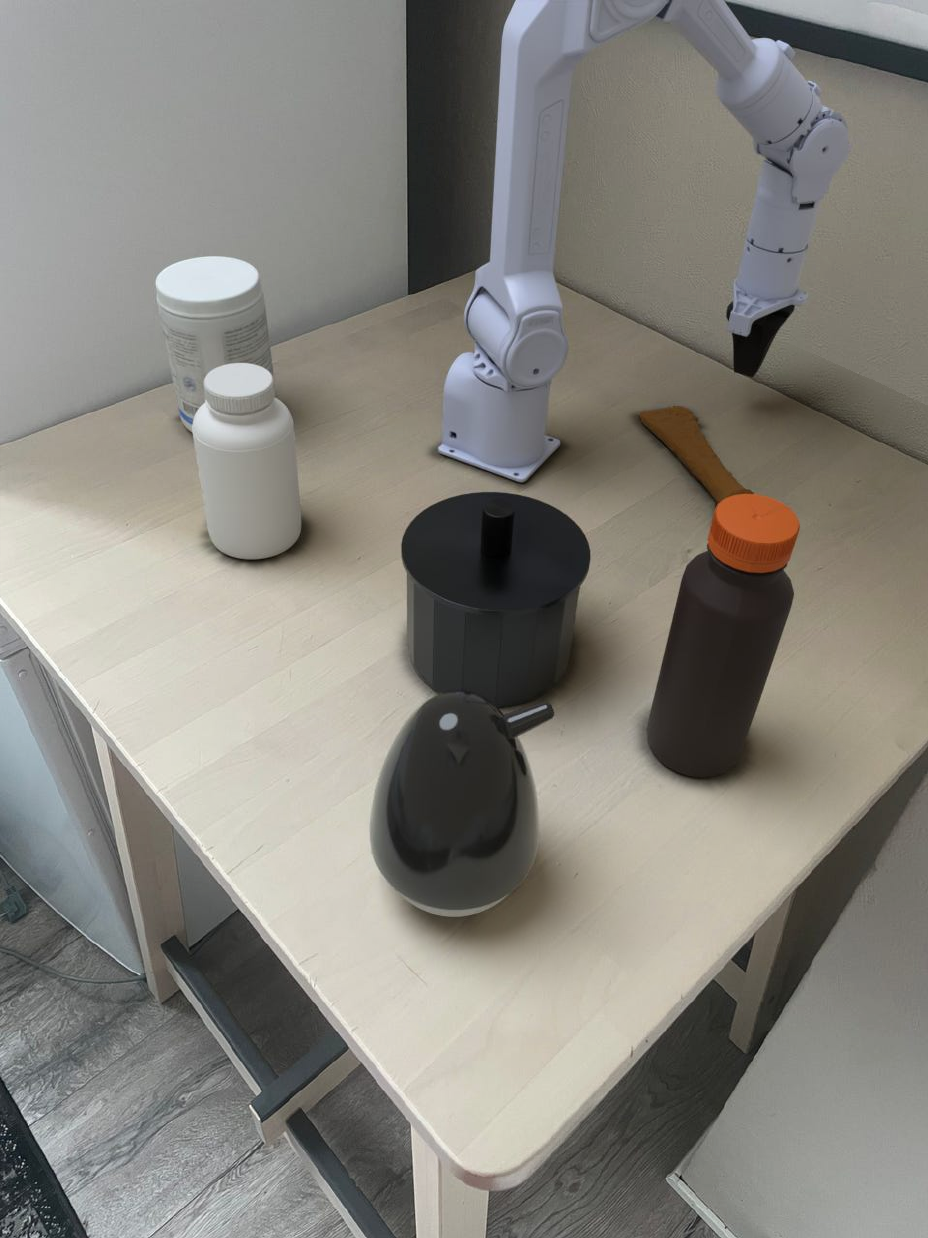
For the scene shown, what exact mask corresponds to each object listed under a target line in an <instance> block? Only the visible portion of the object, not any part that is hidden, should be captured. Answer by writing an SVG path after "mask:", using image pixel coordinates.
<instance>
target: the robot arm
mask: <svg viewBox="0 0 928 1238" xmlns="http://www.w3.org/2000/svg"><path fill="white" fill-rule="evenodd" d="M654 18H655V19H657V20H659V21H660V22H663V23H669V24H670V25H671V26H672V27H673V28H674V29H675V30H676V32H678V33H679V35H681V36H682V38H684V39H685V40H686V41H687V43H689V44H690V46H692V48H694V50H695V51H697V53H698V54H699V55H700V56H701V57H702V58H703V59H704V60H705V61H706V62H707V63H708V64H709V65H710V66H711V67H712V68H713V69H714V70H715V71H716V73H717V77H716V82H715V83H716V84H715V93H716V96H717V99H718V100H719V102H720V103H721V104H722V105H723V106H724V107H725V109H727V111H728V112H729V113H730V114H731V115H732V116H733V117H734V118H735V120H736V121H737V122H738V123H739V124H740V125H741V126H742V128H743V129H744V130H745V131H746V132H747V133H748V134H749V135H750V136H751V138H752V144H753V148H754V152H755V154H757V155H760V156H762V157H763V159H762V165H761V169H760V173H759V179H758V183H757V188H756V192H755V197H754V202H753V205H752V210H751V215H750V219H749V223H748V228H747V232H746V237H745V241H744V246H743V250H742V254H741V258H740V263H739V267H738V273H737V277H736V278H735V279H734V281H733V286H732V301H730V303H729V304H728V306H726V312H725V316H726V320H727V322H728V323H727V328H726V332H729V333H731V337H732V351H733V352H732V361H733V363H732V365H733V372H734V373H735V374H739V375H742V376H744V377H745V376H746V377H749V378H754V377H755V375H756V374H757V373H758V372H759V370H760V368H761V366H762V364H763V363H764V361H765V359H766V356H767V354H768V352H769V350H770V347H771V346H772V343H773V341H774V339H775V337H776V336H777V334H778V332H779V331H780V329H781V328H782V326H783V325H784V324H785V323H786V322H787V321H788V319H789V318H790V317H791V315H792V314H793V313H794V312H795V308H796V306H797V307H802V306H804V305H805V304H806V303H807V302H808V300H809V299H808V298H809V295H810V293H809V292H808V291H805V290H802V289H800V288H799V283H800V280H801V276H802V272H803V269H804V264H805V261H806V257H807V253H808V250H809V247H810V242H811V238H812V236H813V231H814V227H815V224H816V220H817V216H818V212H819V208H820V206H821V205H820V204H821V201H822V200H823V199H824V198H825V195H826V194H828V193H829V192H828V191H829V189H830V185H831V182H832V180H833V177H834V176H835V175H836V173H837V172H838V171H839V169H841V167H842V166H843V165H844V164H845V162H846V161H847V158H848V157H849V154H850V152H851V149H852V143H849V132H848V124H847V122H846V119H845V118H844V116H843V115H842V114H841V113H839V112H837V111H836V110H833V109H831V108H830V107H828V106H825V105H823V104H822V101H821V99H820V97H819V96H820V95H821V94H822V89H821V88H820V87H819V86H818V84H817V83H815V82H813V81H812V80H806V79H805V77H804V76H803V75H802V73H800V71H799V70H798V68H797V67H796V66H795V64H794V63H793V62H792V59H793V58H794V57H796V52H795V51H794V49H793V48H792V46H791V45H790V44H789V43H786V42H785V41H782V40H781V39H778V40H776V41H775V40H774V39H771V38H768V37H760V38H759V37H758V38H754V39H753V38H751V37H750V35H749V34H748V32H747V31H746V30H745V28H744V27H743V25H742V24H741V23H740V21H739V19H738V18H737V17H736V16H735V14H734V12H733V11H732V10H731V8H730V6H728V4H727V3H726V1H725V0H515V1H514V3H513V5H512V8H511V9H510V12H509V13H508V15H507V18H506V20H505V22H504V25H503V31H502V36H501V51H500V66H499V86H498V102H497V103H498V104H497V123H496V141H495V159H494V176H493V177H494V178H493V198H492V213H491V215H492V217H491V233H490V236H491V237H490V250H489V251H490V253H489V262H487V263H485V264H483V265H481V266H480V267H478V268H477V269H476V270H475V277H474V286H473V289H472V293H471V295H470V296H469V298H468V299H467V302H466V305H465V307H464V312H463V323H464V327H465V330H466V332H467V334H468V336H470V337H471V339H472V340H473V341H475V342H474V352H471V351H466V352H465V351H464V352H463V353H461V354H460V355H458V356H457V357H456V359H455V360H454V361H453V362H452V364H451V366H450V368H449V370H448V372H447V375H446V378H445V382H444V386H443V392H442V393H443V396H442V435H441V436H442V438H441V444H440V445H439V446H438V447H437V452H438V453H439V454H441V455H443V456H446V457H449V458H451V459H454V460H457V461H460V462H463V463H466V464H468V465H471V466H474V467H477V468H479V469H482V470H485V471H488V472H490V473H493V474H496V475H498V476H502V477H504V478H506V479H510V480H512V481H515V482H518V483H524V482H526V481H528V479H529V478H530V477H531V476H532V475H533V474H534V473H535V472H536V471H537V470H538V469H539V468H540V467H541V466H542V465H543V464H544V463H545V461H546V460H547V459H548V458H550V456H552V454H554V452H555V451H557V449H558V448H559V447H560V446H561V440H559V439H558V438H554V437H552V436H549V435H546V431H547V423H548V422H547V421H548V411H549V403H550V393H551V385H552V379H554V378H555V377H556V376H557V375H558V374H559V372H560V371H561V370H562V368H563V367H564V365H565V363H566V361H567V358H568V354H569V340H568V336H567V334H566V332H565V330H564V326H563V311H564V307H563V306H564V305H563V302H562V298H561V295H560V292H559V288H558V285H557V282H556V279H555V274H554V266H555V265H554V264H555V255H556V244H557V235H558V226H559V225H558V222H559V213H560V203H561V192H562V183H563V175H564V174H563V173H564V163H565V152H566V142H567V133H568V132H567V130H568V120H569V111H570V102H571V90H572V80H573V72H574V69H575V68H576V66H577V65H578V64H579V63H581V62H582V60H584V59H585V58H586V57H587V56H588V55H589V54H591V52H593V51H594V50H595V49H597V48H599V47H601V46H603V45H605V44H607V43H609V42H611V41H613V40H616V39H617V38H620V36H623V35H624V34H627V33H629V32H630V31H632V30H634V29H636V28H638V27H640V26H643V25H644V24H646V23H647V22H649V21H650V20H652V19H654Z"/></svg>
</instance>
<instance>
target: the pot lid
mask: <svg viewBox="0 0 928 1238" xmlns="http://www.w3.org/2000/svg"><path fill="white" fill-rule="evenodd" d="M400 551H401V552H400V554H401V561H402V564H403V568H404V571H405V572H406V575H407V574H408V576H409V577H410V579H411V580H412V581H413V582H414V583H415V585H416V586H417V587H418V588H419V589H421V590H422V591H423V592H424V593H425V594H427V595H428V596H430V597H431V598H433V599H435V600H436V601H438V602H440V603H442V604H444V605H446V606H449V607H452V608H454V609H457V610H460V611H464V612H468V613H473V614H479V615H486V616H517V615H525V614H530V613H535V612H538V611H541V610H545V609H547V608H550V607H552V606H554V605H557V604H559V603H560V602H562V601H564V600H565V599H567V598H568V597H569V596H571V595H572V594H573V593H574V592H575V591H576V590H577V589H578V588H579V587H580V588H581V586H582V585H583V583H584V582H585V580H586V578H587V576H588V573H589V571H590V565H591V559H592V558H591V548H590V543H589V541H588V538H587V536H586V534H585V533H584V531H583V530H582V528H581V527H580V526H579V524H577V522H575V520H573V519H572V518H571V517H570V516H569V515H568V514H566V513H564V512H563V511H562V510H560V509H559V508H556V507H555V506H553V505H551V504H549V503H547V502H545V501H541V500H539V499H537V498H533V497H530V496H526V495H523V494H518V493H510V492H502V491H479V492H478V491H477V492H469V493H463V494H459V495H454V496H450V497H448V498H445V499H443V500H440V501H437V502H435V503H433V504H431V505H429V506H428V507H427V508H425V509H423V510H422V511H421V512H420V513H418V514H417V515H416V516H415V517H414V518H413V519H412V520H411V521H410V523H408V525H407V527H406V529H405V531H404V532H403V535H402V539H401V544H400Z"/></svg>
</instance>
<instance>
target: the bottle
mask: <svg viewBox="0 0 928 1238" xmlns="http://www.w3.org/2000/svg"><path fill="white" fill-rule="evenodd" d="M800 523H801V521H800V519H799V517H797V515H796V512H794V510H792V508H790V507H789V506H787V505H786V504H784V503H783V502H781V501H779V500H778V499H775V498H772V497H769V496H766V495H762V494H757V493H754V494H738V495H732V496H731V497H730V496H729V497H728V498H726V499H724V500H722V502H721V501H720V503H717V505H716V507H715V509H714V512H713V516H712V520H711V524H710V528H709V532H708V536H707V544H706V549H707V550H706V551H703V552H702V553H699V554H697V555H696V556H694V558H693V559H691V560H690V561H689V562H688V563H687V564H686V567H685V569H684V571H683V574H682V577H681V580H680V584H679V589H678V593H677V597H676V602H675V606H674V609H673V614H672V618H671V624H670V628H669V631H668V635H667V640H666V644H665V649H664V653H663V657H662V660H661V665H660V669H659V675H658V678H657V683H656V688H655V691H654V695H653V700H652V704H651V708H650V711H649V712H650V713H649V717H648V721H647V725H646V728H645V729H646V739H647V740H646V741H647V744H648V746H649V748H650V750H651V752H652V754H653V755H654V756H655V757H656V758H657V760H659V761H660V762H661V763H662V764H663V765H665V766H666V767H668V768H669V769H671V770H673V771H674V772H677V773H680V774H682V775H686V776H689V777H695V778H710V777H715V776H720V775H722V774H724V773H726V772H728V771H729V770H732V769H733V768H734V766H735V765H736V764H737V762H738V761H739V760H740V759H741V756H742V753H743V750H744V748H745V745H746V742H747V740H748V739H747V738H748V736H749V733H750V731H751V727H752V724H753V722H754V718H755V715H756V712H757V710H758V706H759V703H760V700H761V698H762V694H763V692H764V689H765V686H766V682H767V679H768V677H769V674H770V671H771V668H772V665H773V662H774V659H775V656H776V654H777V650H778V647H779V645H780V641H781V638H782V636H783V633H784V630H785V627H786V624H787V621H788V618H789V615H790V612H791V609H792V605H793V601H794V599H795V591H794V587H793V584H792V580H791V578H790V577H789V575H788V574H787V573H786V572H785V569H786V568H787V567H788V563H789V562H790V560H791V557H792V555H793V551H794V548H795V546H796V542H797V538H798V536H799V533H800V530H801V524H800Z"/></svg>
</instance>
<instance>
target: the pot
mask: <svg viewBox="0 0 928 1238" xmlns="http://www.w3.org/2000/svg"><path fill="white" fill-rule="evenodd" d="M580 589H581V586H580V587H579V588H578V589H577V590H576V591H575V592H574V593H573V594H572V595H571V596H569V597H568V598H567V599H565V600H564V601H562V602H560V603H559V604H557V605H554V606H552V607H550V608H547V609H545V610H541V611H538V612H535V613H530V614H525V615H517V616H486V615H479V614H473V613H468V612H464V611H460V610H457V609H454V608H452V607H449V606H446V605H444V604H442V603H440V602H438V601H436V600H435V599H433V598H431V597H430V596H428V595H427V594H425V593H424V592H423V591H422V590H421V589H419V588H418V587H417V586H416V585H415V583H414V582H413V581H412V580H411V579H410V577H409V576H408V574H407V573H406V645H407V649H408V655H409V660H410V662H411V665H412V667H413V669H414V671H415V672H416V674H417V676H419V679H421V680H422V681H423V682H424V683H425V684H426V685H427V686H428V687H429V688H430V689H431V690H433V691H435V692H436V693H437V694H439V693H441V692H445V691H449V690H468V691H472V692H475V693H478V694H480V695H482V696H484V697H485V698H487V699H488V700H489V701H490V702H492V703H493V704H494V705H495V706H496V707H497V708H506V707H507V708H508V707H514V706H518V705H522V704H525V703H529V702H531V701H533V700H535V699H537V698H539V697H541V696H543V695H545V694H546V693H548V692H549V691H550V690H551V689H553V688H554V687H555V686H556V685H557V684H558V683H559V681H560V680H561V679H562V677H563V676H564V674H565V673H566V670H567V667H568V666H569V663H570V657H571V650H572V643H573V636H574V630H575V622H576V616H577V611H578V602H579V595H580Z"/></svg>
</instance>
